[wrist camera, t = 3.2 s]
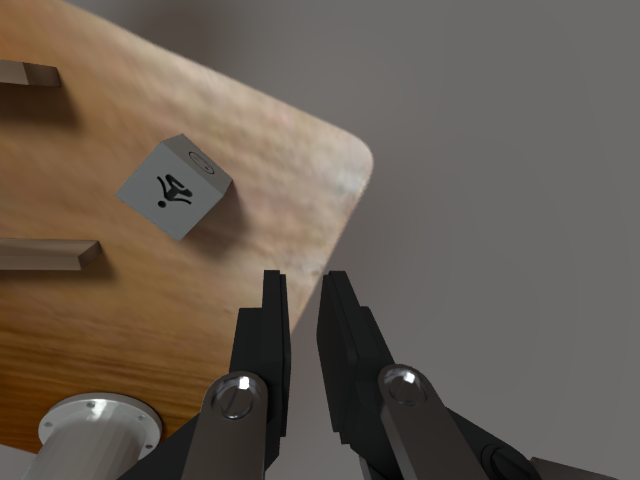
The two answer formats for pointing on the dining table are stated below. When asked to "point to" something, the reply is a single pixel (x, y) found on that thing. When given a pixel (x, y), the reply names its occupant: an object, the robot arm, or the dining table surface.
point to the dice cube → (175, 186)
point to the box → (41, 250)
